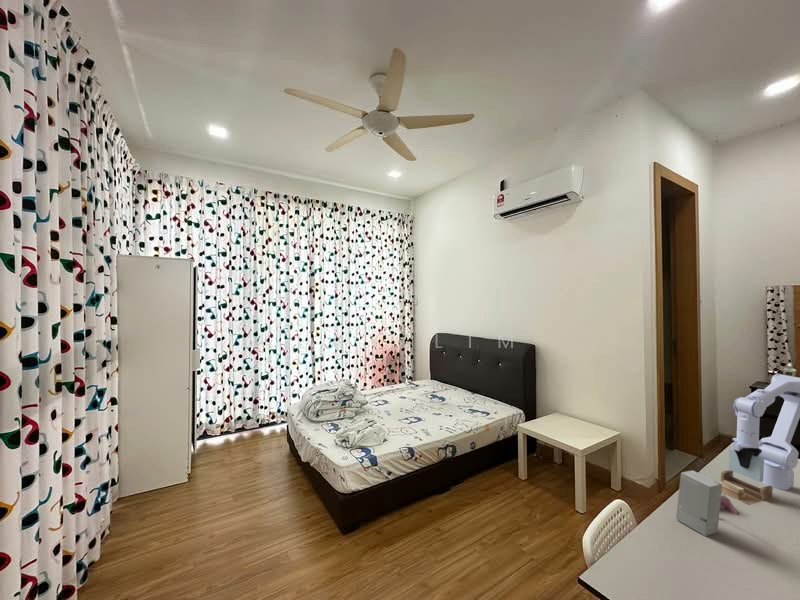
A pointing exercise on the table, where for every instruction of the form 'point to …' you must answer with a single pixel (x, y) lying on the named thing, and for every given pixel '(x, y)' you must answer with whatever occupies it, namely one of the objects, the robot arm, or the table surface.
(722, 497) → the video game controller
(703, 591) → the table surface
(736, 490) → the offcut stack
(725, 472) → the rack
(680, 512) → the skincare box
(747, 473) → the tall sheet
